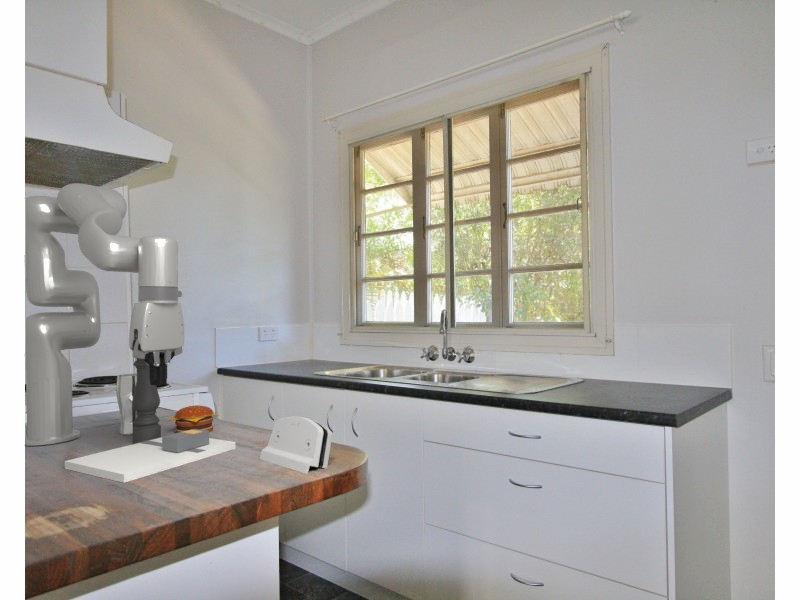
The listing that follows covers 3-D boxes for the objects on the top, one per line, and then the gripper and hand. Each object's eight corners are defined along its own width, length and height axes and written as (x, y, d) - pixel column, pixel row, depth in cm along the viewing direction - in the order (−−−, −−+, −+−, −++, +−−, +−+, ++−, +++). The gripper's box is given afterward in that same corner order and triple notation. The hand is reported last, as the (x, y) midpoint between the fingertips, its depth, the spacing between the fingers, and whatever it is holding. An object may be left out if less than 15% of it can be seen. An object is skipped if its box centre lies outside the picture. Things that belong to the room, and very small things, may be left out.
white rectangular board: (64, 468, 108) (64, 460, 108) (177, 439, 130) (177, 433, 130) (124, 482, 98) (123, 473, 98) (235, 448, 120) (235, 441, 120)
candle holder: (155, 436, 134) (153, 336, 134) (165, 440, 130) (162, 336, 130) (128, 441, 130) (126, 337, 130) (138, 445, 125) (135, 338, 126)
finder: (162, 449, 114) (162, 435, 114) (194, 441, 121) (194, 428, 121) (177, 452, 111) (177, 438, 111) (209, 443, 118) (209, 430, 118)
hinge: (258, 458, 111) (271, 410, 114) (276, 461, 115) (289, 414, 117) (306, 474, 100) (320, 420, 102) (326, 476, 103) (338, 424, 106)
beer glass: (135, 436, 135) (134, 376, 135) (111, 435, 137) (110, 376, 137) (153, 429, 142) (152, 372, 142) (130, 429, 143) (129, 373, 144)
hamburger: (166, 435, 136) (166, 408, 136) (192, 427, 145) (191, 402, 145) (197, 436, 133) (197, 409, 133) (222, 428, 142) (221, 403, 142)
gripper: (178, 296, 120) (178, 378, 120) (112, 296, 107) (112, 388, 107) (200, 296, 116) (200, 381, 116) (135, 295, 103) (135, 391, 103)
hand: (158, 384), depth 112 cm, fingers closed
